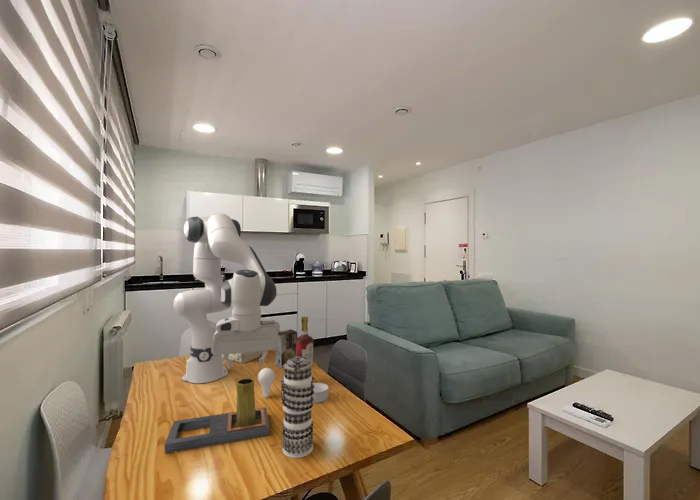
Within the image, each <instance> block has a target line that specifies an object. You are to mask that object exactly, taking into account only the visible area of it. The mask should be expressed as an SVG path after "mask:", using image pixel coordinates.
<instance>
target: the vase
mask: <svg viewBox="0 0 700 500" xmlns="http://www.w3.org/2000/svg"><path fill="white" fill-rule="evenodd" d="M255 397H256V396H255V379H253V378H252V377H251V378H249V377H246V378H241V379H239V380H237V381H236V412H237V422H235V428H238V427H245V426H251V425H257V421H256V420H257V419H256V413H255V409H256V400H255V399H256V398H255Z"/></svg>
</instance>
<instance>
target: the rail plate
mask: <svg viewBox="0 0 700 500" xmlns="http://www.w3.org/2000/svg"><path fill="white" fill-rule="evenodd" d="M267 408H268V407H266V406H265V407H259V408H255V413H256V420H258V419H260V423H259V424H258V423H256V425H251V426H245V427H238V428H236V427H232V426H233V425H232V424H236V423H237V411H232V412H226V413H218V414H212V415H207V416H201V417H199V416H198V417H192V418H185V419H179V420H175V421H173V422H172V425H171V428H170V430H169V433H168V436H167V438H166V440H165V443H164V454H165V453H166V454H171V453H175V451H177V452H182V451H181V450H183V451H187V450H188V451H189V450H193V449H198V448H204V447H210V446H215V445H221V444H226V443H227V444H228V443H233V442H237V441H238V442H239V441H244V440H249V439H254V438H255V439H256V438H262V437H267V436H270V423H269V416H268V410H267ZM204 428H209V431H208V433H203V434H197V435H191V436H185V437H179V435H180V433H181V432H185V431H191V430H195V429H196V430H197V429H204ZM179 432H180V433H179ZM170 452H171V453H170Z"/></svg>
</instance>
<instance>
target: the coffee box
mask: <svg viewBox="0 0 700 500" xmlns="http://www.w3.org/2000/svg"><path fill="white" fill-rule="evenodd" d="M278 338H279V347H278V349H277V350H274V351H275V352H274V353H275V366H277V367H279V368H280V369H284V366H283V365H284V364H285V363H287V361H288V360H289V359H290V358H293V357H297V355H296V339H297V338H298V331H296V330H294V329H290V328H289V329H286V330H280V331H279V333H278Z"/></svg>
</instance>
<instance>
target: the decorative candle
mask: <svg viewBox="0 0 700 500" xmlns="http://www.w3.org/2000/svg"><path fill="white" fill-rule="evenodd" d="M313 365H314V364H313V362H312V363H311V362H310V361H309V360H308V359H307V358H305V357H293V358H290V359H289V360H288V361H287V363H285V364H284V365H283V366H284V368H283V372H284V375H283V377H282V379H281V380H280V382H281V387H280V388H281V389H280V390H281V392H282V393H281V396H282V397H281V400H282V401H281V403H282V411H283V412H284V413H283V415H284V416H283V424H282V435H283V436H282V453H283V454H284V456H285V457H288V458H290V459H299V458H304V457H307V456H309V454H311V453H312V452H313V449H314V442H313V441H314V434H313V432H314V428H313V427H314V421H313V415H312V410H313V408H314V403H312V402H313V400H314V399H313V397H312V395H313V394H314V391H313V388H314V385H313V384H312V383H313V382H312V383H311V381H312V380H313V381H314V380H315V377H314V376H313V373H312V374H311V366H312V367H313Z"/></svg>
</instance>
